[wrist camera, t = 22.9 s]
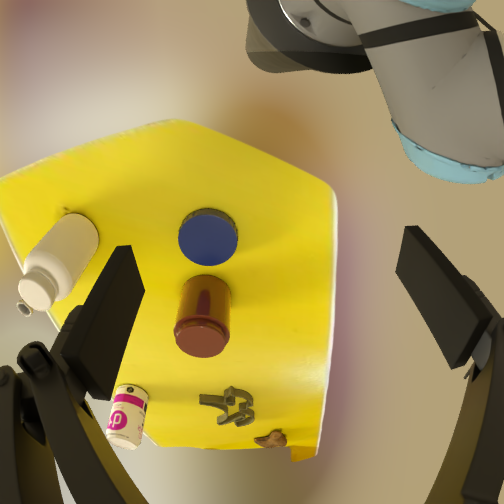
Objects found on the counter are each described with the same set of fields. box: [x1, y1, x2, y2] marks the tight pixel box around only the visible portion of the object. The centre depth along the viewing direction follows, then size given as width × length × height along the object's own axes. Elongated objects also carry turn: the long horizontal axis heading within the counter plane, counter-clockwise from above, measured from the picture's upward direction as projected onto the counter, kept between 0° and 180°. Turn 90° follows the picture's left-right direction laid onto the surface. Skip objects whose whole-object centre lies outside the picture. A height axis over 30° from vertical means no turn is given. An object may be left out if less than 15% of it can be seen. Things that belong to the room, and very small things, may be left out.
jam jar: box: [174, 275, 231, 358], centre depth 45 cm, size 8×8×10 cm
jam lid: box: [178, 208, 238, 266], centre depth 43 cm, size 8×8×2 cm
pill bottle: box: [18, 213, 99, 311], centre depth 36 cm, size 8×8×15 cm
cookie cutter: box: [199, 386, 254, 427], centre depth 69 cm, size 18×12×2 cm, turn 15°
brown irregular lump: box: [254, 431, 287, 448], centre depth 80 cm, size 10×10×4 cm
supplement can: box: [106, 385, 148, 450], centre depth 60 cm, size 8×8×15 cm
